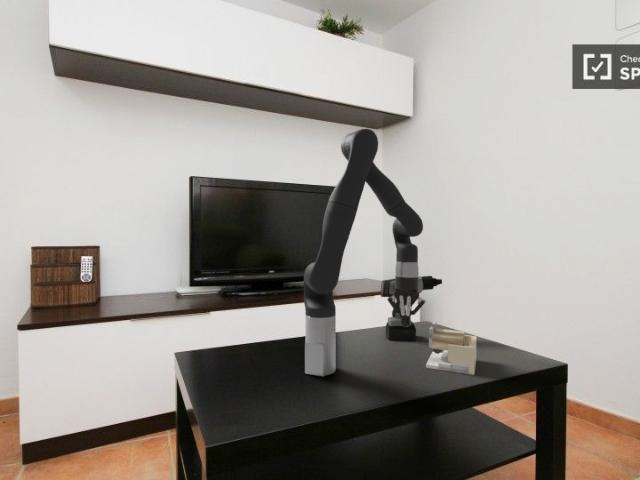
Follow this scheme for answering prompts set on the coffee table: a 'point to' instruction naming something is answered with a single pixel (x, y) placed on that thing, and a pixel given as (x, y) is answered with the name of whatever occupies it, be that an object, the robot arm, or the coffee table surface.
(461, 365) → the dock
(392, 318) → the cordless drill
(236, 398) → the coffee table surface
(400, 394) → the coffee table surface
